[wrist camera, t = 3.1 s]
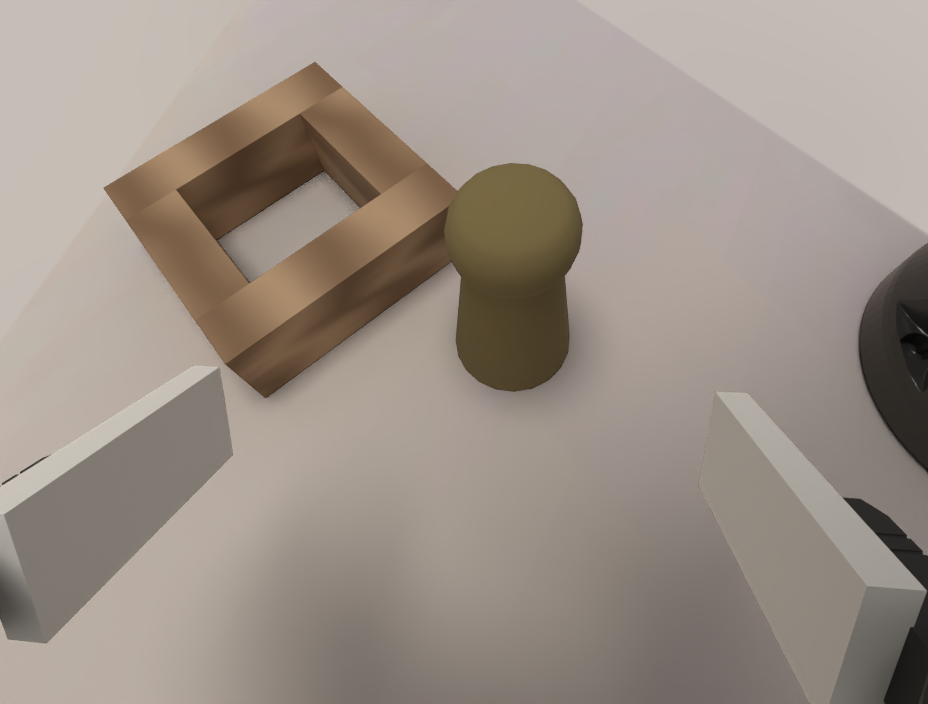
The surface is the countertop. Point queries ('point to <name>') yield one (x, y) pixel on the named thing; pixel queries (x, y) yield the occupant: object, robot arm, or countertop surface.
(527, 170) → the cork
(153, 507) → the robot arm
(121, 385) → the countertop surface
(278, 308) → the socket block
